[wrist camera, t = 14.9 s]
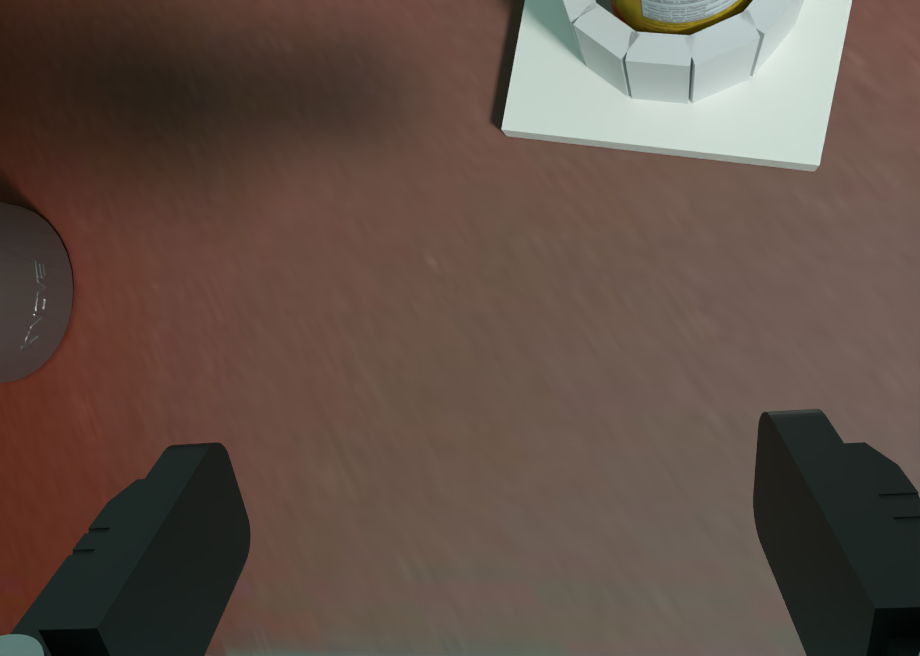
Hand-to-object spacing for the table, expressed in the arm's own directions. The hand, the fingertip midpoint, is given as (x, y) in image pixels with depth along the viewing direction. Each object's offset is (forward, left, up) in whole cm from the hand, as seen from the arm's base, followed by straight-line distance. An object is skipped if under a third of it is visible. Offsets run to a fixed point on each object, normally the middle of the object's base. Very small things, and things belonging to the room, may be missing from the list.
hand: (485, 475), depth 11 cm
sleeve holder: (0, +16, -19) cm, 25 cm away
